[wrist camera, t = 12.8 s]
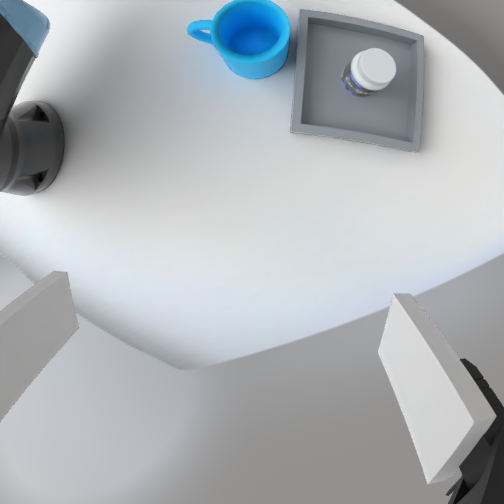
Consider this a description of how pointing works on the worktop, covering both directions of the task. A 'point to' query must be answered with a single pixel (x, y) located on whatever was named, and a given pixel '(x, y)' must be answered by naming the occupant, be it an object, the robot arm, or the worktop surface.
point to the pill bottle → (368, 72)
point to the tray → (339, 99)
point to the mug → (248, 36)
